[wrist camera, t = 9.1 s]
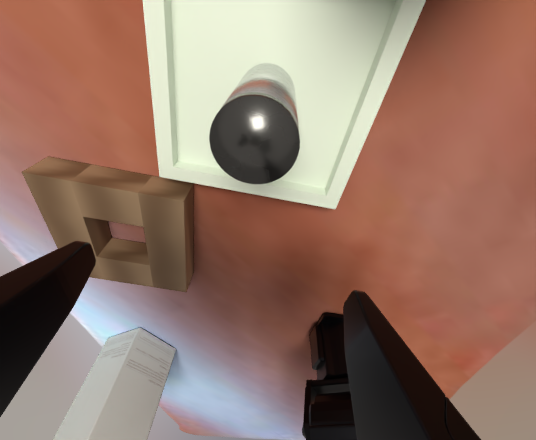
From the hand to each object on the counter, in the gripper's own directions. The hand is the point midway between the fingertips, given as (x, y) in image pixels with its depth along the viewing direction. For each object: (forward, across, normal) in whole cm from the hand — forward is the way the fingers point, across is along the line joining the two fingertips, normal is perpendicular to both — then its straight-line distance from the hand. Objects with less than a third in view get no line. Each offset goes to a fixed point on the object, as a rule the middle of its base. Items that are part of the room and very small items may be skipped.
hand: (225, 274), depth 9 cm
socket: (+12, +10, +10) cm, 18 cm away
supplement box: (+12, +12, +34) cm, 38 cm away
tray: (+12, 0, -4) cm, 12 cm away
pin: (+11, 0, -4) cm, 12 cm away
